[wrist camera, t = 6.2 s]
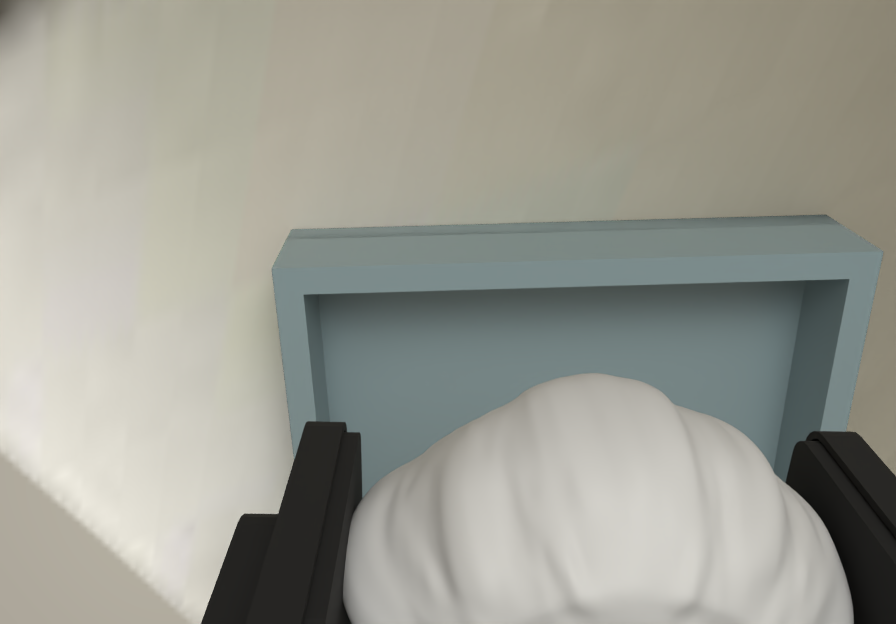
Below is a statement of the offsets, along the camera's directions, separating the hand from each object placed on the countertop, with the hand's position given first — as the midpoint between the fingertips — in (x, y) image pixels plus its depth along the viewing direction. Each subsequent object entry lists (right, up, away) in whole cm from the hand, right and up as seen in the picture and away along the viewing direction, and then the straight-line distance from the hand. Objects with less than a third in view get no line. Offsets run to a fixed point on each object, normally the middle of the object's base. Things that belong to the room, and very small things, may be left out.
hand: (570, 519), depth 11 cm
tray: (+2, -1, +17) cm, 17 cm away
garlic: (0, 0, +1) cm, 1 cm away
